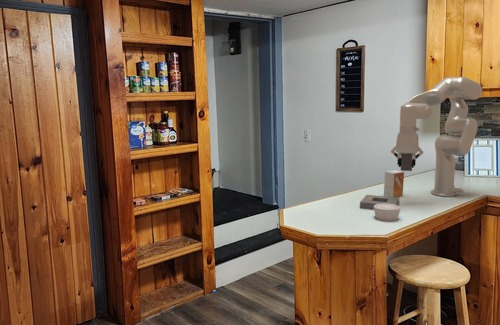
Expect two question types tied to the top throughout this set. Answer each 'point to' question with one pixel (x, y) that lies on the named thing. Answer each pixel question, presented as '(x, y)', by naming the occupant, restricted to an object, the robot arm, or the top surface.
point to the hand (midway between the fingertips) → (406, 166)
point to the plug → (406, 162)
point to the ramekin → (386, 211)
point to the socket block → (377, 201)
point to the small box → (393, 183)
